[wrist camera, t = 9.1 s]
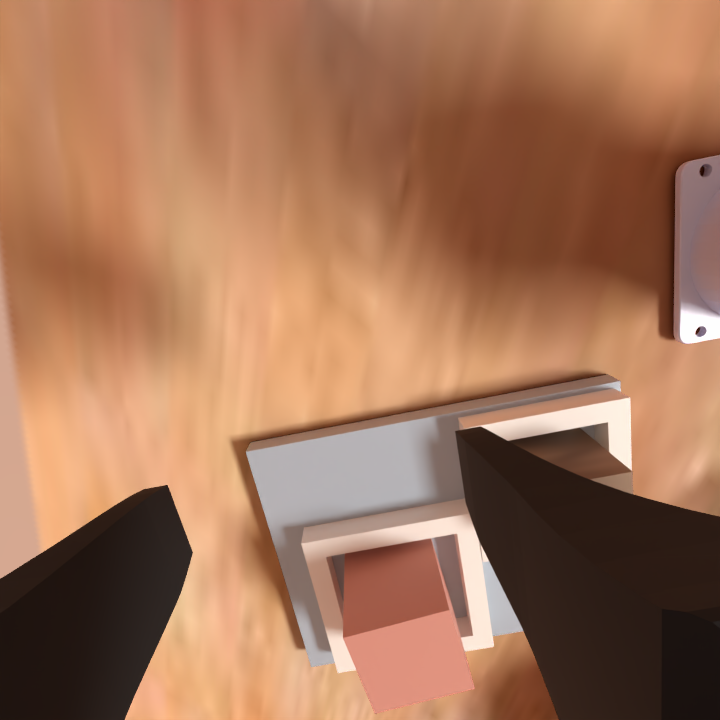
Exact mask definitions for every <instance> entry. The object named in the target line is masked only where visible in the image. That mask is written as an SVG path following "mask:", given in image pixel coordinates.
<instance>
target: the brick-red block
mask: <svg viewBox="0 0 720 720" xmlns="http://www.w3.org/2000/svg"><path fill="white" fill-rule="evenodd" d="M343 640H344V642H345V644H346V647H347V649H348V651H349V654H350V656H351V658H352V661H353V663H354V665H355V668H356V670H357V673H358V675H359V677H360V680H361V682H362V684H363V687H364V689H365V691H366V694H367V696H368V698H369V701H370V703H371V706H372V708H373V710H374V713H375V714H376V713H380V712H384V711H388V710H392V709H396V708H400V707H404V706H408V705H412V704H416V703H420V702H424V701H428V700H432V699H436V698H440V697H444V696H448V695H452V694H456V693H460V692H464V691H468V690H472V689H475V687H474V684H473V680H472V676H471V673H470V669H469V665H468V662H467V658H466V654H465V651H464V647H463V643H462V640H461V636H460V632H459V629H458V625H457V621H456V618H455V614H454V610H453V607H452V603H451V599H450V596H449V592H448V589H447V586H446V583H445V580H444V577H443V574H442V571H441V567H440V564H439V561H438V558H437V555H436V552H435V549H434V546H433V542H432V539H431V538H429V539H424V540H418V541H412V542H407V543H401V544H396V545H390V546H385V547H379V548H373V549H368V550H362V551H357V552H351V553H345V564H344V610H343Z"/></svg>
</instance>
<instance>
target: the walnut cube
mask: <svg viewBox="0 0 720 720" xmlns="http://www.w3.org/2000/svg"><path fill="white" fill-rule="evenodd" d="M509 442H511V443H513V444H514V445H516V446H518V447H520V448H522V449H524V450H526V451H528V452H530V453H532V454H534V455H536V456H538V457H540V458H542V459H544V460H546V461H548V462H550V463H552V464H554V465H557V466H559V467H561V468H564V469H566V470H568V471H570V472H573V473H575V474H577V475H580V476H582V477H585V478H587V479H590V480H593V481H595V482H598V483H601V484H604V485H607V486H610V487H613V488H615V489H618V490H621V491H624V492H627V493H630V494H633V472H632V471H631V470H630V469H629V468H628V467H626V466H625V465H624V464H623V463H622V462H620V461H619V460H618V459H617V458H616V457H614V456H613V455H612V454H611V453H610V452H608V451H607V450H606V449H605V448H604V447H602V446H601V445H600V444H599V443H598V442H596V441H595V440H594V439H593V438H592V437H590V436H589V435H588V434H587V433H586V432H584V431H583V430H582V429H581V428H580V427H579V428H574V429H569V430H563V431H558V432H553V433H547V434H542V435H536V436H531V437H526V438H520V439H515V440H510V441H509Z"/></svg>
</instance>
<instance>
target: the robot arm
mask: <svg viewBox="0 0 720 720" xmlns="http://www.w3.org/2000/svg"><path fill="white" fill-rule="evenodd" d="M702 166H703V167H704V170H705V171H704V174H703V176H701V175H700V173H699V171H700V168H701V167H702ZM698 327H700V331H699V332H698V334H695V331H696V329H697V328H698ZM674 338H675V339H676V341H678V342H681V343H684V344H691V343H696V342H701V341H706V340H712V339H717V338H720V155H716V156H712V157H707V158H702V159H697V160H692V161H688V162H685V163H683V164H682V165H681V166H680V167H679V168H678V170H677V172H676V176H675V261H674ZM455 434H456V441H457V448H458V454H459V461H460V468H461V475H462V482H463V488H464V495H465V502H466V506H467V508H468V511H469V514H470V517H471V520H472V523H473V526H474V529H475V531H476V534H477V537H478V540H479V542H480V544H481V546H482V548H483V550H484V552H485V554H486V556H487V558H488V560H489V562H490V564H491V566H492V568H493V570H494V572H495V574H496V576H497V578H498V580H499V582H500V584H501V586H502V589H503V591H504V593H505V595H506V597H507V599H508V601H509V603H510V605H511V607H512V609H513V611H514V613H515V615H516V617H517V619H518V621H519V623H520V625H521V627H522V629H523V631H524V633H525V635H526V638H527V640H528V642H529V644H530V647H531V649H532V651H533V653H534V656H535V659H536V661H537V664H538V666H539V669H540V671H541V674H542V677H543V679H544V682H545V684H546V687H547V689H548V692H549V694H550V697H551V700H552V702H553V705H554V707H555V710H556V713H557V715H558V718H559V720H720V517H719V516H714V515H710V514H705V513H701V512H696V511H692V510H688V509H684V508H680V507H677V506H673V505H669V504H665V503H662V502H658V501H654V500H650V499H647V498H643V497H640V496H637V495H633V494H630V493H627V492H624V491H621V490H618V489H615V488H613V487H610V486H607V485H604V484H601V483H598V482H595V481H593V480H590V479H587V478H585V477H582V476H580V475H577V474H575V473H573V472H570V471H568V470H566V469H564V468H561V467H559V466H557V465H554V464H552V463H550V462H548V461H546V460H544V459H542V458H540V457H538V456H536V455H534V454H532V453H530V452H528V451H526V450H524V449H522V448H520V447H518V446H516V445H514V444H513V443H511V442H509V441H507V440H505V439H503V438H502V437H500V436H498V435H496V434H494V433H493V432H491V431H489V430H487V429H485V428H483V427H481V426H479V427H474V428H468V429H463V430H458V431H455ZM192 553H193V552H192V549H191V547H190V544H189V541H188V539H187V536H186V533H185V531H184V528H183V525H182V523H181V520H180V517H179V515H178V512H177V509H176V507H175V504H174V501H173V498H172V496H171V493H170V490H169V488H168V485H165V486H159V487H154V488H149V489H144V490H142V491H140V492H138V493H136V494H134V495H132V496H130V497H128V498H127V499H125V500H123V501H122V502H120V503H118V504H117V505H115V506H113V507H112V508H110V509H109V510H107V511H106V512H104V513H103V514H101V515H99V516H98V517H96V518H95V519H93V520H92V521H90V522H89V523H87V524H86V525H84V526H83V527H81V528H80V529H78V530H77V531H75V532H74V533H72V534H71V535H69V536H67V537H66V538H64V539H63V540H61V541H60V542H58V543H57V544H55V545H54V546H52V547H50V548H49V549H47V550H46V551H44V552H43V553H41V554H39V555H38V556H36V557H35V558H33V559H31V560H30V561H28V562H27V563H25V564H23V565H22V566H20V567H19V568H17V569H15V570H14V571H13V572H11V573H9V574H7V575H6V576H4V577H3V578H1V579H0V720H125V717H126V715H127V712H128V710H129V708H130V705H131V703H132V700H133V698H134V695H135V693H136V691H137V689H138V687H139V684H140V682H141V680H142V678H143V676H144V674H145V671H146V669H147V667H148V665H149V663H150V660H151V658H152V656H153V654H154V652H155V649H156V647H157V645H158V643H159V641H160V639H161V636H162V634H163V632H164V630H165V628H166V625H167V623H168V621H169V619H170V616H171V614H172V612H173V610H174V607H175V605H176V603H177V601H178V598H179V596H180V594H181V591H182V587H183V584H184V581H185V578H186V575H187V571H188V568H189V564H190V561H191V557H192Z"/></svg>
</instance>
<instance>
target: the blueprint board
mask: <svg viewBox="0 0 720 720" xmlns="http://www.w3.org/2000/svg"><path fill="white" fill-rule="evenodd" d="M479 426H481V427H483V428H485V429H487V430H489V431H491V432H493V433H494V434H496V435H498V436H500V437H502V438H503V439H505V440H507V441H510V440H515V439H520V438H526V437H531V436H536V435H542V434H547V433H553V432H558V431H563V430H569V429H574V428H579V427H580V428H581V429H582V430H583V431H584V432H586V433H587V434H588V435H589V436H590V437H592V438H593V439H594V440H595V441H596V442H598V443H599V444H600V445H601V446H602V447H604V448H605V449H606V450H607V451H608V452H610V453H611V454H612V455H613V456H614V457H616V458H617V459H618V460H619V461H620V462H622V463H623V464H624V465H625V466H626V467H628V468H629V469H630V470H631V471H632V466H631V413H630V397H628V396H627V395H625V394H623V393H622V392H621V390H620V381H619V380H617V379H616V378H614V377H612V376H610V375H608V374H607V375H602V376H597V377H591V378H586V379H581V380H576V381H570V382H565V383H560V384H555V385H549V386H544V387H539V388H534V389H528V390H523V391H518V392H513V393H507V394H502V395H497V396H491V397H486V398H481V399H476V400H470V401H465V402H460V403H455V404H449V405H444V406H439V407H434V408H428V409H423V410H418V411H413V412H407V413H402V414H397V415H392V416H386V417H381V418H376V419H371V420H365V421H360V422H355V423H350V424H344V425H339V426H334V427H329V428H323V429H318V430H313V431H307V432H302V433H297V434H292V435H286V436H281V437H276V438H271V439H265V440H260V441H255V442H250V444H249V446H248V448H247V450H246V455H247V458H248V461H249V465H250V468H251V471H252V474H253V478H254V481H255V484H256V487H257V491H258V494H259V497H260V501H261V504H262V507H263V510H264V514H265V517H266V520H267V523H268V527H269V530H270V533H271V537H272V540H273V543H274V546H275V550H276V553H277V556H278V560H279V563H280V566H281V569H282V573H283V576H284V579H285V582H286V586H287V589H288V592H289V596H290V599H291V602H292V605H293V609H294V612H295V615H296V618H297V622H298V625H299V628H300V632H301V635H302V638H303V641H304V645H305V648H306V651H307V654H308V658H309V661H310V664H311V667H315V666H320V665H326V664H332V663H335V665H336V668H337V672H338V673H341V672H347V671H353V670H356V668H355V665H354V663H353V661H352V658H351V656H350V654H349V651H348V649H347V647H346V644H345V642H344V640H343V610H344V564H345V553H351V552H357V551H362V550H368V549H373V548H379V547H385V546H390V545H396V544H401V543H407V542H412V541H418V540H424V539H429V538H431V539H432V542H433V546H434V549H435V552H436V555H437V558H438V561H439V564H440V567H441V571H442V574H443V577H444V580H445V583H446V586H447V589H448V592H449V596H450V599H451V603H452V607H453V610H454V614H455V618H456V621H457V625H458V629H459V632H460V636H461V640H462V643H463V647H464V651H465V652H466V651H472V650H478V649H484V648H489V647H494V643H493V636H497V635H503V634H509V633H515V632H521V631H523V629H522V627H521V625H520V623H519V621H518V619H517V617H516V615H515V613H514V611H513V609H512V607H511V605H510V603H509V601H508V599H507V597H506V595H505V593H504V591H503V589H502V586H501V584H500V582H499V580H498V578H497V576H496V574H495V572H494V570H493V568H492V566H491V564H490V562H489V560H488V558H487V556H486V554H485V552H484V550H483V548H482V546H481V544H480V542H479V540H478V537H477V534H476V531H475V529H474V526H473V523H472V520H471V517H470V514H469V511H468V508H467V506H466V502H465V495H464V488H463V482H462V475H461V468H460V461H459V454H458V448H457V441H456V434H455V431H458V430H463V429H468V428H474V427H479Z"/></svg>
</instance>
